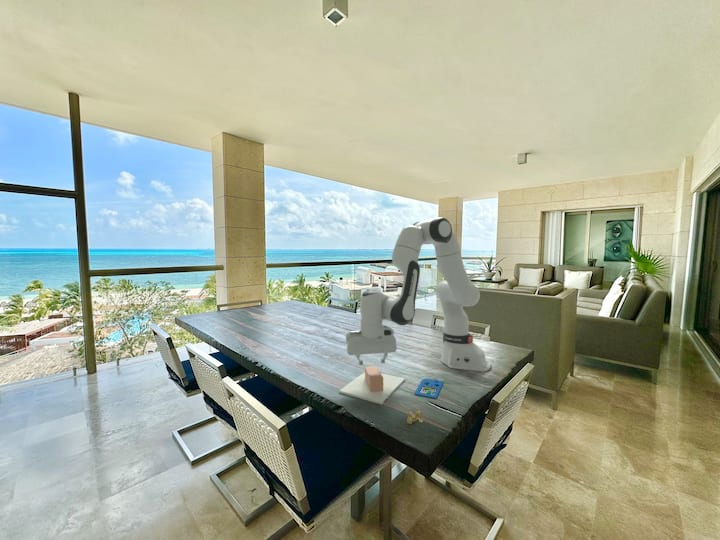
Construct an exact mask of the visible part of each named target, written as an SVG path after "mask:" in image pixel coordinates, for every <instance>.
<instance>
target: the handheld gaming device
mask: <svg viewBox="0 0 720 540" xmlns="http://www.w3.org/2000/svg"><path fill="white" fill-rule="evenodd" d="M443 384H444V380H443V381H442V380H438V379H432V378H422V380H421V381H420V383H419V385H418V386H417V388H416V389H415V391H414V393H413V394H414V395H415V396H418V395H419V397H422V398H423V397H424V398H428V399H435V400H436V399H437V398H438V397H437V396H439V394H440V392H441V389H442V387H443ZM422 387H424V389H423V391H424V390H434V391H435V389H436V392H433V393H432V394H434V393H435V395H431V391H428V392H427V393H426V394H425V393H420V391H421V389H422ZM439 391H440V392H439ZM425 392H426V391H425Z"/></svg>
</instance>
